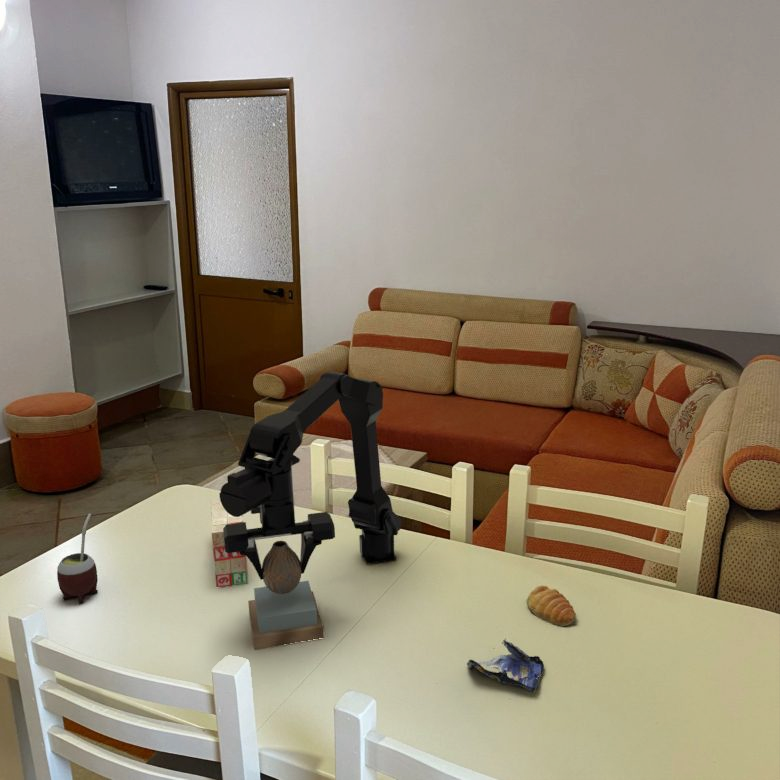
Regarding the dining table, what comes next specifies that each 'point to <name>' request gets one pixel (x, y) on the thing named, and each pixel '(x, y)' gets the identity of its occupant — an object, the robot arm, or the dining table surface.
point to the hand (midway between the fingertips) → (282, 575)
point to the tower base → (283, 631)
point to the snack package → (513, 667)
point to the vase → (281, 568)
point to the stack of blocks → (226, 564)
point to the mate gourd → (77, 573)
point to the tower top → (285, 608)
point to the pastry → (551, 606)
